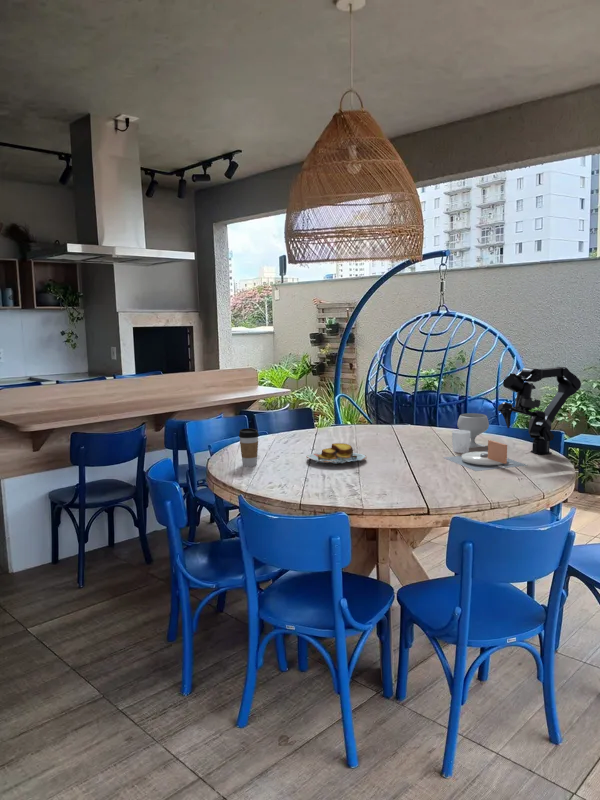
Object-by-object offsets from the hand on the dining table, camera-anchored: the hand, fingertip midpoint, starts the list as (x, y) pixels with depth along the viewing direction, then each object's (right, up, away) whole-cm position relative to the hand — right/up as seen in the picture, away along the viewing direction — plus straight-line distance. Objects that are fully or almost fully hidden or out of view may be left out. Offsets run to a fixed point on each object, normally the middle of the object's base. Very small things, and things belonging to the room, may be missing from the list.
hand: (519, 430), depth 257 cm
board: (-16, -14, -4) cm, 21 cm away
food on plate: (-76, -14, +6) cm, 78 cm away
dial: (-16, -12, -4) cm, 21 cm away
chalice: (-12, -9, +27) cm, 31 cm away
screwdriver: (-6, -11, +16) cm, 20 cm away
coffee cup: (-113, -15, +2) cm, 114 cm away
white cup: (-20, -11, +15) cm, 28 cm away
